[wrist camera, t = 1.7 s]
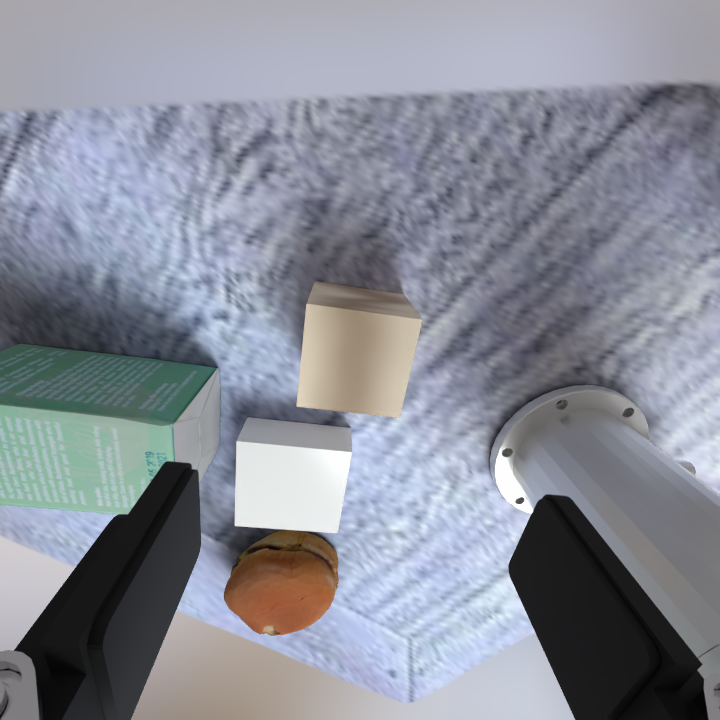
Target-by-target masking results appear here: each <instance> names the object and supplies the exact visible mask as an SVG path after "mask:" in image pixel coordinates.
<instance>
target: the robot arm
mask: <svg viewBox="0 0 720 720" xmlns="http://www.w3.org/2000/svg"><path fill="white" fill-rule="evenodd" d="M490 472H491V475H492V478H493V481H494V483H495V485H496V487H497V488H498V490H499V492H500V493H501V495H502V496H503V497H504V498H505V500H506V501H507V502H509V503H510V504H511V505H512V506H514V507H516V508H518V509H520V510H522V511H524V512H528V513H532V514H531V516H530V519H529V521H528V523H527V525H526V527H525V529H524V532H523V534H522V536H521V538H520V540H519V543H518V545H517V547H516V549H515V551H514V553H513V556H512V558H511V560H510V562H509V574H510V577H511V580H512V582H513V584H514V586H515V589H516V591H517V593H518V595H519V597H520V599H521V602H522V604H523V606H524V608H525V610H526V613H527V615H528V617H529V619H530V621H531V624H532V626H533V628H534V630H535V632H536V635H537V637H538V639H539V641H540V643H541V646H542V648H543V650H544V652H545V654H546V656H547V658H548V661H549V663H550V665H551V667H552V669H553V672H554V674H555V676H556V678H557V680H558V683H559V685H560V687H561V689H562V692H563V694H564V696H565V698H566V700H567V702H568V704H569V707H570V709H571V711H572V713H573V715H574V718H575V720H720V494H719V493H717V492H716V491H715V490H713V489H712V488H711V487H709V486H708V485H707V484H705V483H704V482H703V481H701V480H700V479H699V478H697V477H696V476H695V473H696V471H695V467H694V466H693V465H692V464H691V463H689V462H687V461H680V460H674V459H672V458H671V457H670V456H668V455H667V454H666V453H664V452H663V451H662V450H660V449H659V448H658V447H656V446H655V445H654V444H652V443H651V442H650V441H649V427H648V424H647V421H646V418H645V416H644V414H643V413H642V411H641V410H640V409H639V407H638V406H637V405H635V404H634V403H633V402H632V401H631V400H629V399H628V398H626V397H625V396H623V395H621V394H620V393H618V392H617V391H614V390H611V389H609V388H606V387H602V386H594V385H576V386H569V387H565V388H560V389H557V390H554V391H551V392H549V393H546V394H544V395H541V396H540V397H538V398H536V399H534V400H533V401H531V402H529V403H527V404H526V405H525V406H524V407H522V408H521V409H520V410H519V411H517V412H516V413H515V414H514V415H513V416H512V417H511V418H510V419H509V420H508V421H507V422H506V423H505V425H504V426H503V428H502V429H501V431H500V432H499V434H498V435H497V437H496V440H495V442H494V444H493V447H492V451H491V456H490ZM200 547H201V528H200V499H199V473H198V470H196V469H192V465H191V463H184V462H173V461H166V462H165V463H164V464H163V465H162V466H161V468H160V469H159V471H158V472H157V474H156V475H155V476H154V478H153V479H152V481H151V482H150V484H149V485H148V486H147V488H146V489H145V491H144V492H143V494H142V495H141V496H140V498H139V499H138V501H137V502H136V503H135V505H134V506H133V508H132V509H131V511H130V512H129V513H128V514H118V515H117V516H115V517H114V518H113V519H112V520H111V521H110V522H109V523H108V525H107V526H106V528H105V529H104V530H103V532H102V533H101V534H100V536H99V537H98V538H97V540H96V541H95V542H94V544H93V545H92V546H91V548H90V549H89V550H88V552H87V553H86V554H85V556H84V557H83V558H82V560H81V561H80V562H79V564H78V565H77V566H76V568H75V569H74V571H73V572H72V573H71V575H70V576H69V577H68V579H67V580H66V581H65V583H64V584H63V586H62V587H61V588H60V589H59V591H58V592H57V594H56V595H55V596H54V598H53V599H52V600H51V601H50V603H49V604H48V605H47V607H46V609H45V610H44V611H43V612H42V614H41V615H40V616H39V618H38V619H37V620H36V622H35V623H34V624H33V626H32V627H31V628H30V630H29V631H28V632H27V634H26V635H25V637H24V638H23V639H22V641H21V642H20V643H19V644H18V646H17V647H16V649H15V650H14V651H10V650H7V651H2V652H0V720H131V717H132V715H133V713H134V710H135V708H136V705H137V703H138V701H139V698H140V696H141V693H142V691H143V689H144V686H145V684H146V681H147V679H148V676H149V674H150V672H151V669H152V667H153V665H154V662H155V660H156V657H157V655H158V652H159V650H160V648H161V645H162V643H163V640H164V638H165V636H166V633H167V631H168V628H169V626H170V624H171V621H172V619H173V616H174V614H175V611H176V609H177V607H178V604H179V602H180V599H181V597H182V595H183V592H184V590H185V587H186V585H187V583H188V580H189V578H190V575H191V573H192V570H193V568H194V566H195V563H196V561H197V558H198V555H199V552H200Z"/></svg>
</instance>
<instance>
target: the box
mask: <svg viewBox="0 0 720 720" xmlns="http://www.w3.org/2000/svg"><path fill="white" fill-rule="evenodd" d="M220 401H221V387H220V371H219V368H214V367H207V366H200V365H193V364H186V363H179V362H172V361H165V360H158V359H151V358H142V357H133V356H124V355H116V354H107V353H98V352H89V351H80V350H71V349H62V348H55V347H47V346H39V345H31V344H18V345H15V346H13V347H10V348H8V349H6V350H3V351H1V352H0V505H11V506H24V507H37V508H48V509H59V510H70V511H82V512H94V513H106V514H117V515H118V514H128V513H129V512H130V511H131V509H132V508H133V506H134V505H135V503H136V502H137V501H138V499H139V498H140V496H141V495H142V494H143V492H144V491H145V489H146V488H147V486H148V485H149V484H150V482H151V481H152V479H153V478H154V476H155V475H156V474H157V472H158V471H159V469H160V468H161V466H162V465H163V464H164V463H165V462H166V461H173V462H184V463H191V465H192V469H196V470H198V473H199V483H200V481H201V479H202V477H203V476H204V474H205V472H206V470H207V468H208V467H209V465H210V463H211V461H212V459H213V458H214V456H215V454H216V452H217V450H218V448H219V444H220Z"/></svg>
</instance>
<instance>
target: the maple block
mask: <svg viewBox="0 0 720 720" xmlns="http://www.w3.org/2000/svg"><path fill="white" fill-rule="evenodd" d="M421 324H422V318H421V317H420V316H419V314H418V313H417V311H416V310H415V309H414V307H413V306H412V305H411V303H410V302H409V301H408V299H407V298H406V296H405V295H404V294H399V293H392V292H386V291H379V290H372V289H365V288H358V287H351V286H344V285H338V284H331V283H324V282H317V281H315V282H314V285H313V287H312V290H311V293H310V295H309V298H308V301H307V304H306V314H305V324H304V334H303V344H302V355H301V365H300V375H299V385H298V396H297V406H296V407H305V408H314V409H324V410H333V411H342V412H352V413H361V414H370V415H379V416H389V417H398V418H400V414H401V410H402V406H403V401H404V397H405V393H406V388H407V384H408V380H409V376H410V371H411V367H412V363H413V359H414V354H415V350H416V346H417V341H418V337H419V333H420V329H421Z"/></svg>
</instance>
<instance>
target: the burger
mask: <svg viewBox="0 0 720 720" xmlns="http://www.w3.org/2000/svg"><path fill="white" fill-rule="evenodd" d="M232 567H233V568H232V572H231V577H230V578H229V580H228V582H227V585H226V588H225V591H224V600H225V602H226V604H227V606H228V607H229V609H230V610H231V611H232V612H234V613H235V614H236V615H238V616H239V617H240V618H241V620H242V621H244V622H245V623H246V624H247V625H248V626H249V627H250V628H251V629H252V630H253V631H255V632H257V633H259V634H265V633H267V634H269V635H271V636H274V635H284V634H289V633H292V632H296V631H299V630H302V629H304V628H306V627H308V626H310V625H311V624H313V623H314V622H316V621H317V620H318V619H320V618H321V616H322V615H323V614H324V613H325V612H326V611H327V610H328V609H329V607H330V605H331V603H332V601H333V599H334V595H335V591H336V589H337V587H338V586H337V584H338V573H337V568H338V558H337V553H336V551H335V550H334V549H333V548H332V547H331V546H330V545H329V544H328V543H327V542H326V541H325V540H324V539H322V538H321V537H317V536H316V535H314V534H311V533H307V532H304V531H298V530H284V529H283V530H279V531H276V532H274V533H272V534H270V535H268V536H266V537H264V538H263V539H261V540H259V541H257V542H256V543H255V544H253V545H252V546H250V547H249V548H248V549H247V550H246V551H244V552H243V553H242V554H240V555H239V556H238V559H237V563H236V565H235V566H232Z"/></svg>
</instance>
